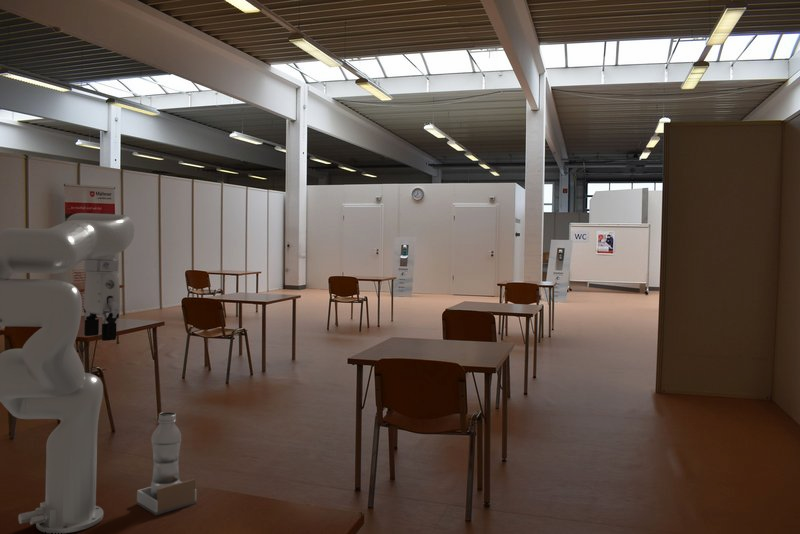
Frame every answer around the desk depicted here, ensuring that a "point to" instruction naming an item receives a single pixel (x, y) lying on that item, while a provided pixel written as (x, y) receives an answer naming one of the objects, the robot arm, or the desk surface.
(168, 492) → the drawer
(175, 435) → the plastic bottle
